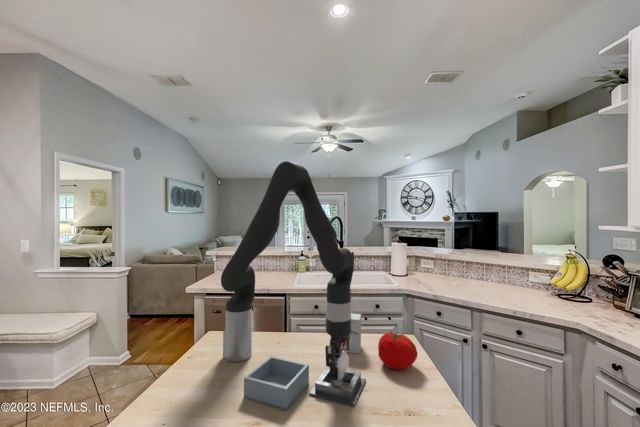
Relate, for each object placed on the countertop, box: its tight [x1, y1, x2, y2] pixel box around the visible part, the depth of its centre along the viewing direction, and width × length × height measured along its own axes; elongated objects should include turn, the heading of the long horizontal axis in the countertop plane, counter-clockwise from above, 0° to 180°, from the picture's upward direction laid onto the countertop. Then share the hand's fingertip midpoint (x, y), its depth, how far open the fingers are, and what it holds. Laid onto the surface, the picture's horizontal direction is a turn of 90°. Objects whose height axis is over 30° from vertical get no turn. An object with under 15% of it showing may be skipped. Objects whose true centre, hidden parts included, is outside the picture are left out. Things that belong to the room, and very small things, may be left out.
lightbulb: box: [329, 350, 350, 387], centre depth 83 cm, size 6×6×11 cm
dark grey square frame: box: [308, 366, 367, 408], centre depth 83 cm, size 13×13×3 cm
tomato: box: [377, 330, 418, 371], centre depth 96 cm, size 13×12×11 cm
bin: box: [243, 356, 310, 411], centre depth 82 cm, size 14×14×6 cm
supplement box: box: [347, 312, 362, 354], centre depth 108 cm, size 7×7×13 cm
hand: (338, 373), depth 83 cm, fingers closed on lightbulb, 6 cm apart
